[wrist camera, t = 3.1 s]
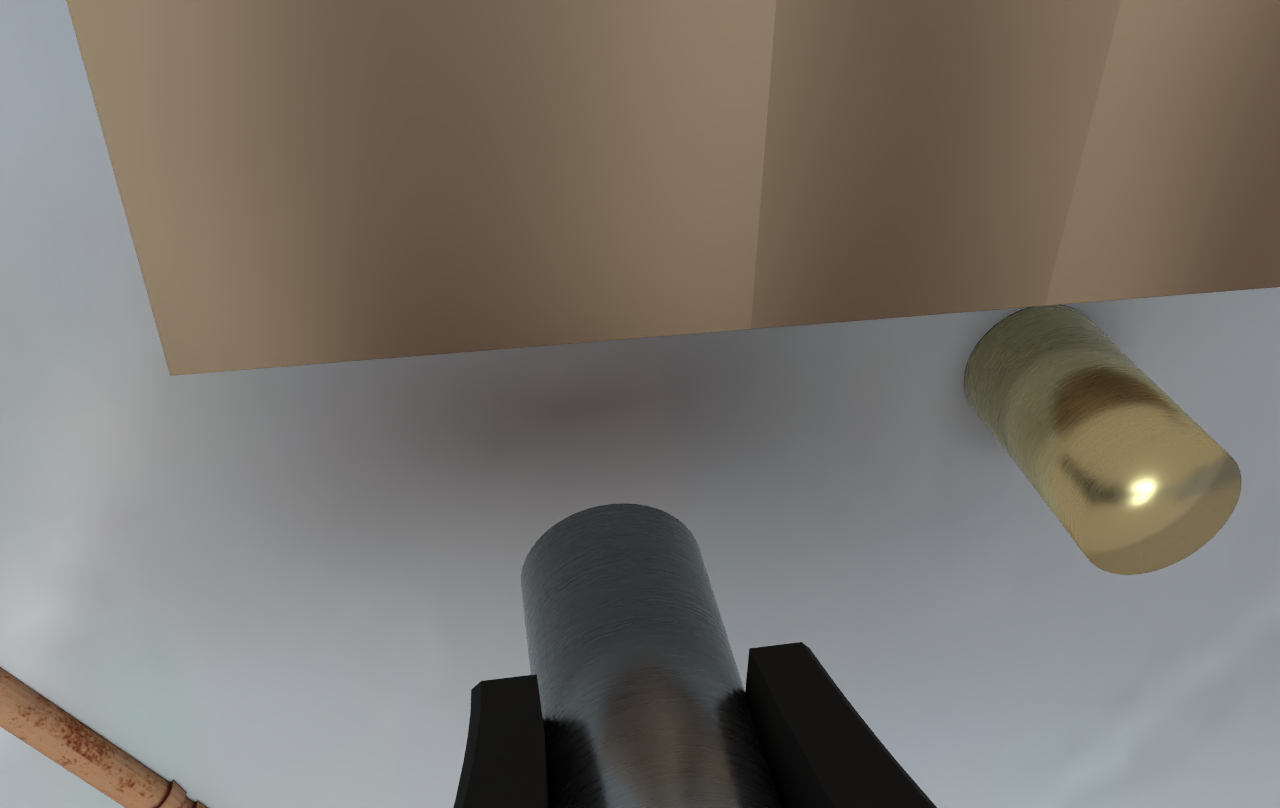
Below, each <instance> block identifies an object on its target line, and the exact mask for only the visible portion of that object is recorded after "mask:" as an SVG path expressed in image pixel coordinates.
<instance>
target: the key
mask: <svg viewBox="0 0 1280 808" xmlns="http://www.w3.org/2000/svg"><path fill="white" fill-rule="evenodd" d="M0 726H1V727H2V728H4V729H5V730H7V731H8V732H10V733H11V734H13V735H14V736H16V737H18V738H19V739H21V740H22V741H24V742H25V743H27V744H28V745H30V746H31V747H33V748H34V749H36V750H38V751H39V752H41V753H42V754H44V755H45V756H47V757H48V758H50V759H51V760H53V761H54V762H56V763H58V764H59V765H61V766H62V767H64V768H65V769H67V770H68V771H70V772H71V773H73V774H74V775H76V776H77V777H79V778H81V779H82V780H84V781H85V782H87V783H88V784H90V785H91V786H93V787H94V788H96V789H97V790H99V791H101V792H102V793H104V794H105V795H107V796H108V797H110V798H111V799H113V800H114V801H116V802H117V803H119V804H120V805H122V806H124V807H125V808H207V807H206V806H204V805H203V804H201V803H200V802H198V801H196V802H195V803H194V802H192V801H191V800H190V799H188V798H187V797H186V792H185V791H184V790H183V789H182V788H181V787H180V786H179V785H178V784H177V783H176V782H175V781H174V780H173V781H172V782H171V783H169V782H167V781H166V780H164V779H163V778H161V777H160V776H159V775H157V774H156V773H154V772H153V771H151V770H150V769H148V768H147V767H145V766H144V765H142V764H141V763H139V762H138V761H137V760H135V759H134V758H132V757H131V756H129V755H128V754H126V753H125V752H123V751H122V750H120V749H119V748H117V747H116V746H115V745H113V744H112V743H110V742H109V741H107V740H106V739H104V738H103V737H101V736H100V735H98V734H97V733H96V732H94V731H93V730H91V729H90V728H88V727H87V726H85V725H84V724H82V723H81V722H79V721H78V720H76V719H75V718H74V717H72V716H71V715H69V714H68V713H66V712H65V711H63V710H62V709H60V708H59V707H57V706H56V705H54V704H53V703H52V702H50V701H49V700H47V699H46V698H44V697H43V696H41V695H40V694H38V693H37V692H35V691H34V690H32V689H31V688H30V687H28V686H27V685H25V684H24V683H22V682H21V681H19V680H18V679H16V678H15V677H13V676H12V675H10V674H9V673H8V672H6V671H5V670H3V669H2V668H0Z"/></svg>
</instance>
